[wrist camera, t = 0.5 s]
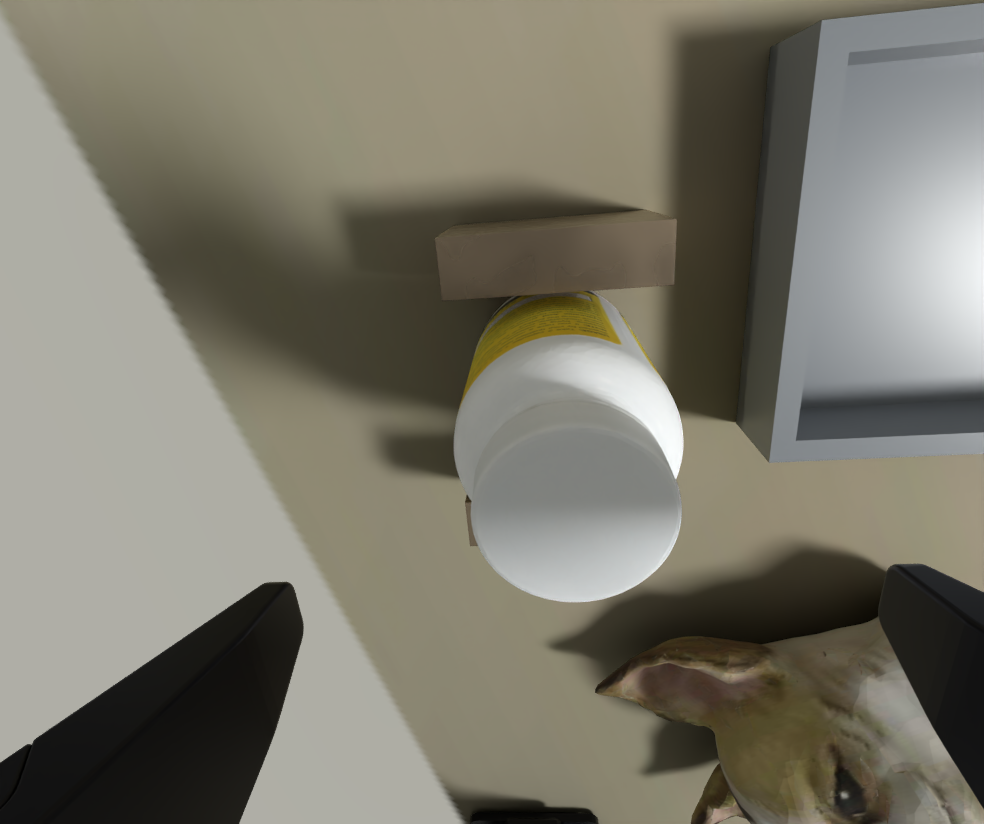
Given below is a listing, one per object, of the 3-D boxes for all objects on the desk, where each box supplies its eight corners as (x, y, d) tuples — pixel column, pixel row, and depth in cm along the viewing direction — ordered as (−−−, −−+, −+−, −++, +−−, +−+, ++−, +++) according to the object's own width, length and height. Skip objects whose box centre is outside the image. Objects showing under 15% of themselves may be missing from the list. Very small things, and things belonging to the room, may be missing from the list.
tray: (1085, 406, 19) (1180, 445, 16) (735, 423, 20) (769, 462, 17) (1226, 0, 15) (1387, -41, 12) (770, 47, 16) (822, 20, 13)
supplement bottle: (445, 370, 20) (376, 531, 11) (545, 246, 18) (561, 317, 9) (561, 458, 21) (586, 671, 12) (667, 349, 19) (790, 505, 10)
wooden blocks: (640, 476, 21) (663, 540, 17) (480, 482, 22) (470, 545, 18) (645, 209, 17) (676, 218, 14) (454, 225, 18) (434, 238, 14)
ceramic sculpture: (1257, 946, 16) (733, 1009, 20) (1027, 684, 24) (686, 772, 28) (1192, 694, 13) (593, 836, 17) (952, 490, 21) (584, 624, 25)
